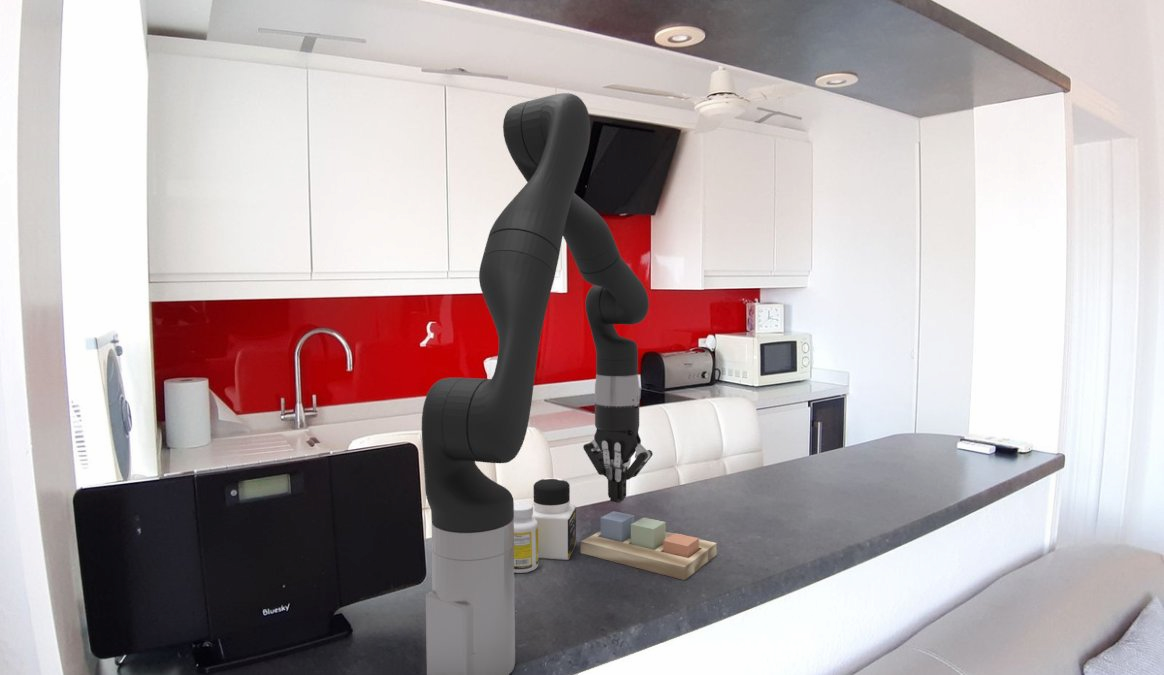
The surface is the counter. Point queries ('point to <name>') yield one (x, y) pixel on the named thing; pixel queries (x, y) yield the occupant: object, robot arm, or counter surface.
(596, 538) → the board
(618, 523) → the slate button
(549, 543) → the medicine bottle
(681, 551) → the terracotta button
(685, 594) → the counter surface
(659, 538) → the sage button
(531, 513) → the supplement bottle
